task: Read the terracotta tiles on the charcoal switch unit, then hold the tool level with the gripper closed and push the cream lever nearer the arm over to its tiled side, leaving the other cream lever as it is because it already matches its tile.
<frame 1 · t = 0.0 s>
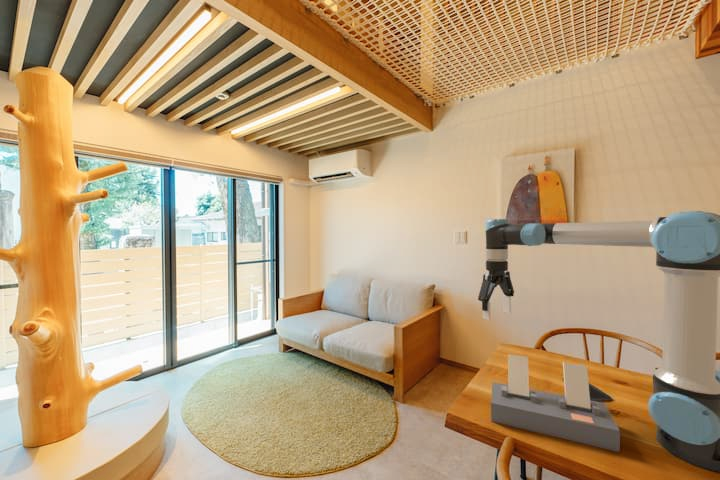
hand: (496, 315, 113), 28 cm above the table, tool pointing down, fingers open, 13 cm apart
lever a: (576, 384, 93), point 12 cm above the table, hinge at -25.0°
switch unit: (547, 421, 94), on the table
digital camera: (662, 392, 109), on the table
phone: (585, 391, 111), on the table
lever b: (518, 374, 99), point 12 cm above the table, hinge at -25.0°
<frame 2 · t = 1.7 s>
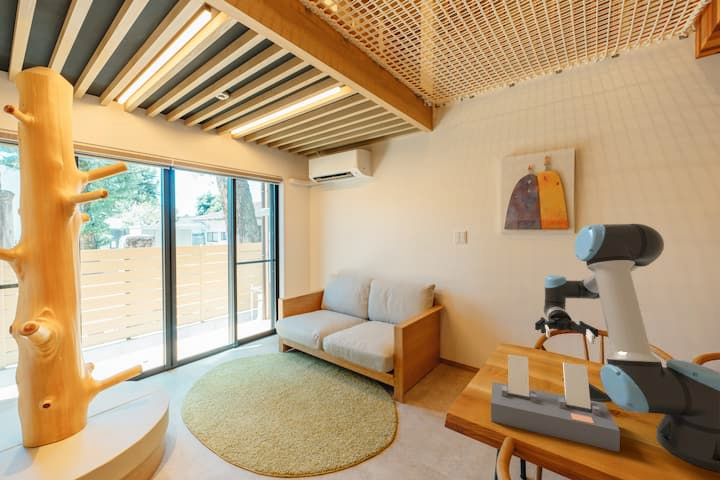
hand: (570, 337, 100), 24 cm above the table, tool horizontal, fingers open, 12 cm apart
nothing on the table moved.
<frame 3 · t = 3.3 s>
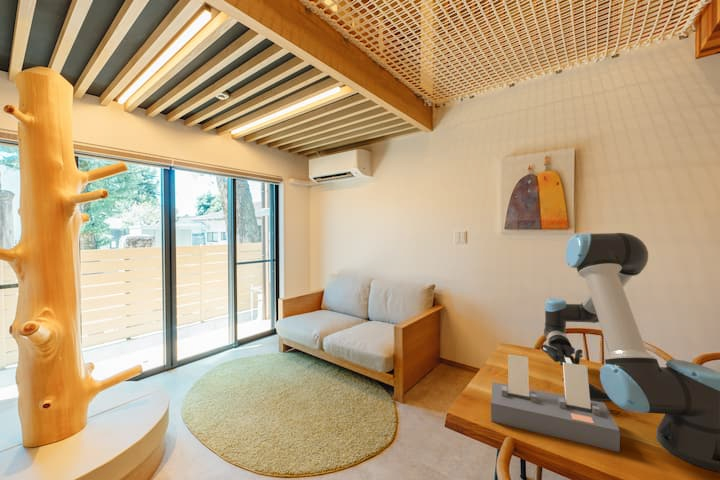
hand: (570, 369, 99), 14 cm above the table, tool horizontal, fingers closed
nothing on the table moved.
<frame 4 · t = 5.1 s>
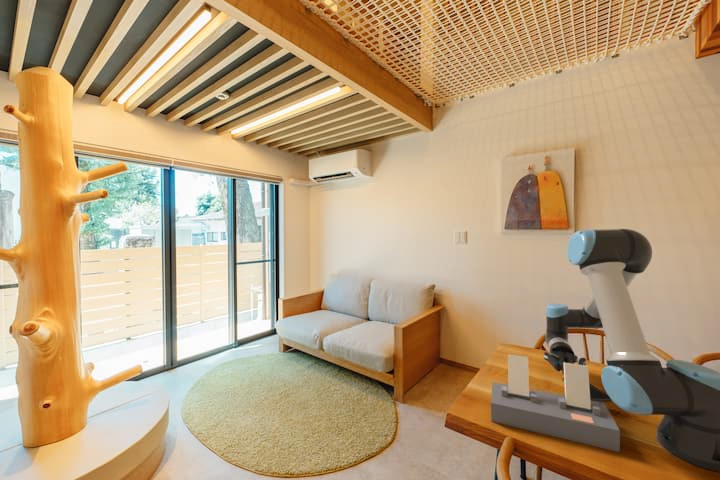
hand: (573, 379, 94), 13 cm above the table, tool horizontal, fingers closed
lever a: (576, 384, 92), point 12 cm above the table, hinge at -19.1°, touching gripper
everything else where it was.
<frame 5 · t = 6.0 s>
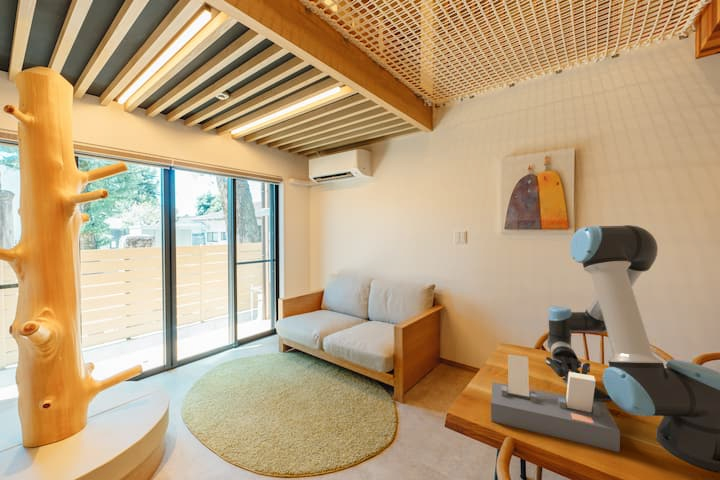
hand: (577, 386, 89), 13 cm above the table, tool horizontal, fingers closed
lever a: (580, 392, 88), point 12 cm above the table, hinge at 18.8°, touching gripper
everything else where it was.
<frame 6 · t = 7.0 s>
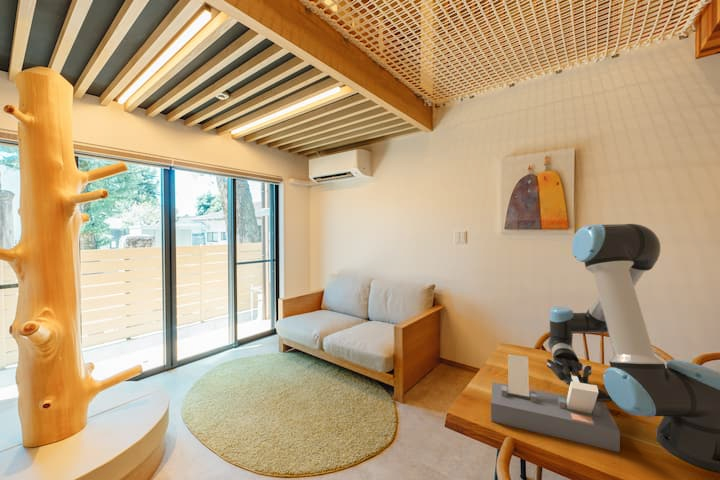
hand: (578, 390, 88), 13 cm above the table, tool horizontal, fingers closed
lever a: (581, 397, 87), point 12 cm above the table, hinge at 34.1°, touching gripper
everything else where it was.
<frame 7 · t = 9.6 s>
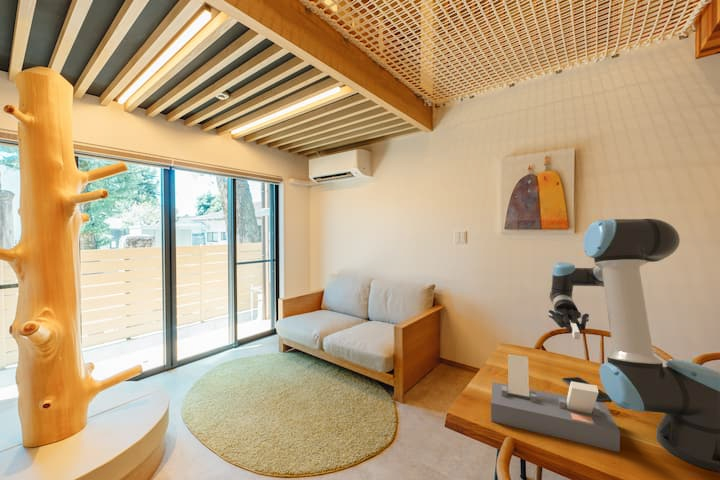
hand: (576, 335, 99), 25 cm above the table, tool horizontal, fingers closed
lever a: (581, 397, 87), point 12 cm above the table, hinge at 34.2°
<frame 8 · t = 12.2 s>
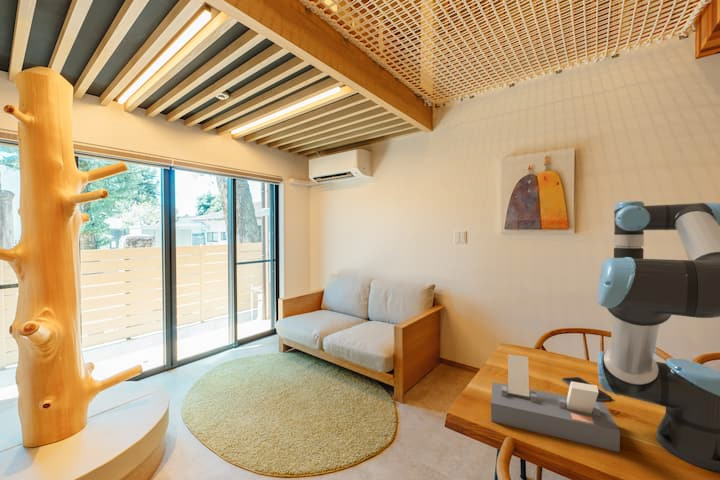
hand: (627, 315, 102), 30 cm above the table, tool pointing down, fingers closed
at the end: lever a at +34° (first picture: -25°); lever b at -25° (first picture: -25°) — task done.
